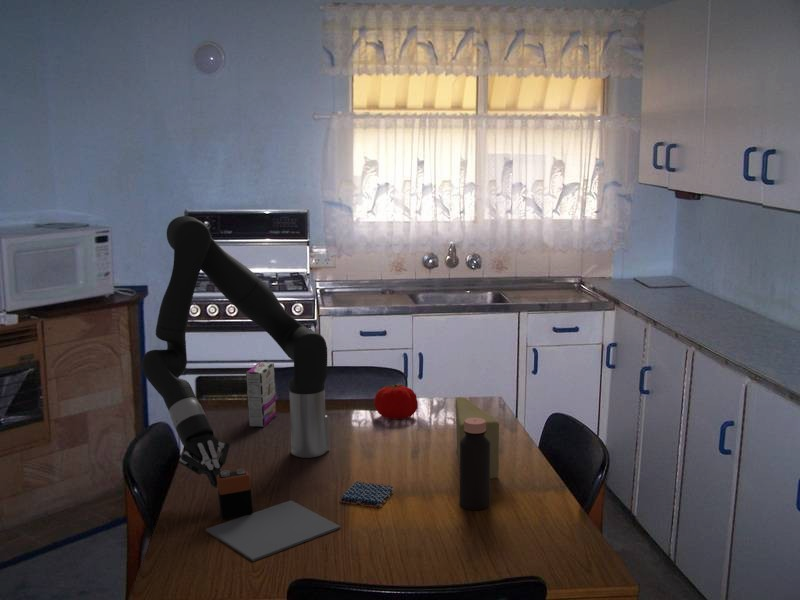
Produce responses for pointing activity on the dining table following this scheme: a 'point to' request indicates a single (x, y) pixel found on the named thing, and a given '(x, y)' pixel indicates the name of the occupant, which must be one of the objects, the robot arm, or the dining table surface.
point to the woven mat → (367, 494)
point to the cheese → (492, 433)
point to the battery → (234, 493)
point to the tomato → (396, 402)
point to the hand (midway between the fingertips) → (219, 485)
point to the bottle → (474, 465)
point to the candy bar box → (261, 394)
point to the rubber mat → (272, 530)
